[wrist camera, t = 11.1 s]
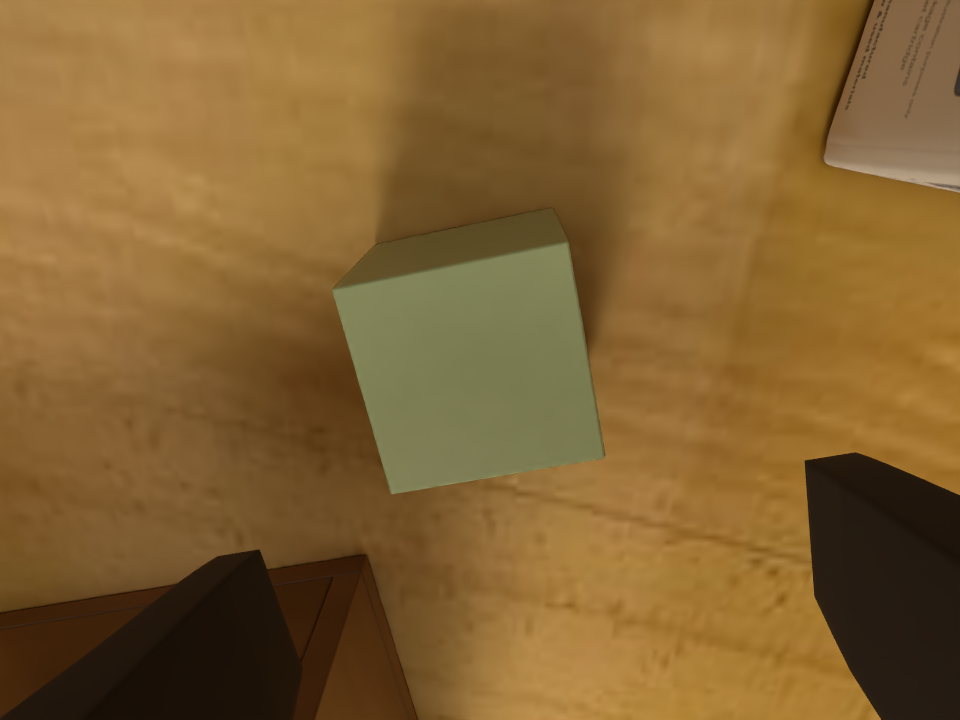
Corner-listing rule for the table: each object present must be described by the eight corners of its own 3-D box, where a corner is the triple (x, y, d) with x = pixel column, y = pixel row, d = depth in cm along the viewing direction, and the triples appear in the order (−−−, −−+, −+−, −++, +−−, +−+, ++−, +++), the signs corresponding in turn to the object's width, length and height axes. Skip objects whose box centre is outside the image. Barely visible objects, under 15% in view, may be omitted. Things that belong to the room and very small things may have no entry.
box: (584, 378, 18) (606, 459, 14) (416, 409, 19) (390, 495, 14) (554, 207, 17) (568, 240, 13) (373, 244, 17) (330, 289, 13)
